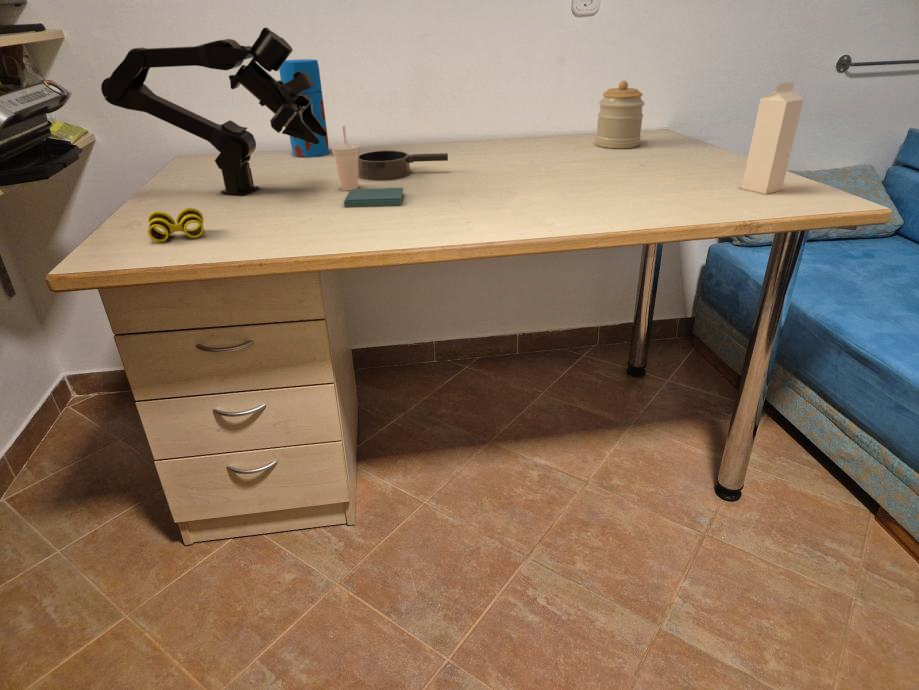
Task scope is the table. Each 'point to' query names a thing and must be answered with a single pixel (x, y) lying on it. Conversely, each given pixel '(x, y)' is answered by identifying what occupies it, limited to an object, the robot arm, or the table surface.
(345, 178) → the smoothie
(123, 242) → the table surface
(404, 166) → the pan
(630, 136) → the jar
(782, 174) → the milk
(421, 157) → the pan handle
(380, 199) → the teal flat block
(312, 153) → the thermos
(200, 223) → the opera glasses
